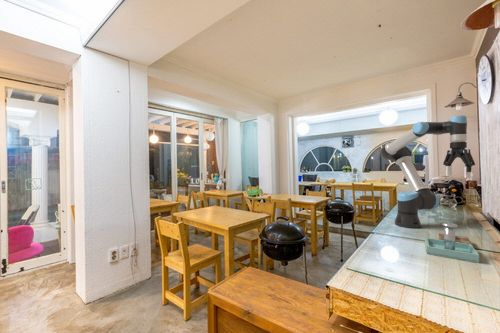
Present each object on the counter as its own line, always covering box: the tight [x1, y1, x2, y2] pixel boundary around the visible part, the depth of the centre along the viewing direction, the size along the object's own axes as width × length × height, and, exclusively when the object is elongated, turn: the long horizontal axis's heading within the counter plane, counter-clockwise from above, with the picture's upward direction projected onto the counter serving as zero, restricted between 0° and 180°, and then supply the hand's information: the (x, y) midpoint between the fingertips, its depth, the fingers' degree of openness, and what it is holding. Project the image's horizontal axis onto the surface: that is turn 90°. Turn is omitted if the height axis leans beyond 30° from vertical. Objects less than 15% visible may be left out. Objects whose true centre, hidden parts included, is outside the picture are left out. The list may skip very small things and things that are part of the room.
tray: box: [424, 237, 480, 264], centre depth 111 cm, size 18×16×4 cm
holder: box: [438, 233, 474, 247], centre depth 123 cm, size 12×12×3 cm
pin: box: [441, 222, 458, 251], centre depth 111 cm, size 6×6×13 cm
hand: (457, 177), depth 138 cm, fingers open, 13 cm apart
